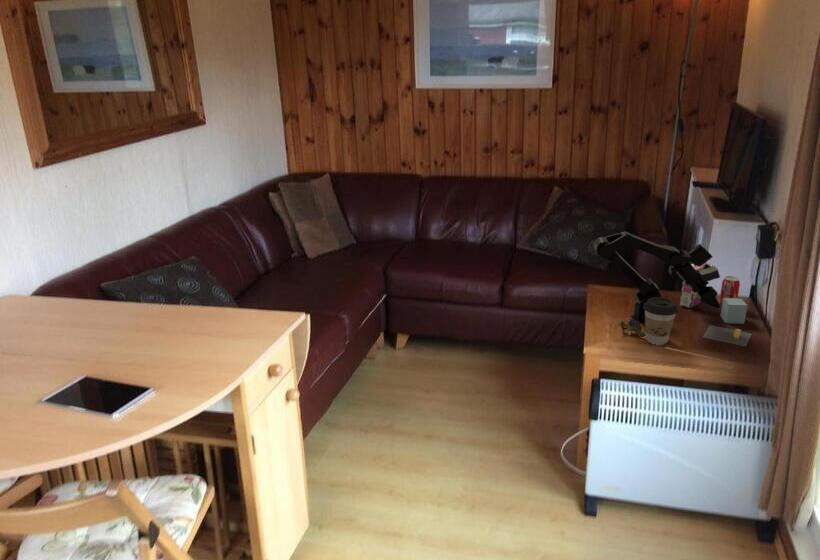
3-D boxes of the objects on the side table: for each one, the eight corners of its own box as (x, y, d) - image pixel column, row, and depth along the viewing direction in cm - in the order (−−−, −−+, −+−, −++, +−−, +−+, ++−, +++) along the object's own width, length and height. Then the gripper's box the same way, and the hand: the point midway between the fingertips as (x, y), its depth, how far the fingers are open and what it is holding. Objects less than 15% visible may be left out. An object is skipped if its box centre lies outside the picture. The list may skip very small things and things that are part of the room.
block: (725, 324, 240) (729, 304, 238) (720, 317, 246) (723, 298, 243) (743, 325, 240) (747, 305, 237) (737, 317, 246) (741, 298, 243)
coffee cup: (642, 347, 225) (646, 307, 219) (637, 333, 235) (641, 295, 230) (676, 349, 223) (682, 309, 218) (670, 334, 233) (675, 296, 228)
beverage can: (737, 310, 252) (742, 281, 248) (720, 309, 253) (725, 280, 249) (733, 304, 258) (738, 276, 254) (716, 303, 259) (721, 275, 255)
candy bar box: (691, 309, 254) (696, 270, 248) (679, 305, 258) (684, 267, 252) (704, 301, 261) (709, 263, 255) (692, 298, 265) (697, 260, 259)
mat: (702, 338, 230) (703, 331, 229) (709, 326, 239) (710, 319, 238) (745, 348, 222) (747, 340, 221) (751, 335, 231) (752, 327, 230)
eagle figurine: (615, 333, 233) (639, 335, 227) (618, 314, 235) (642, 316, 229) (623, 338, 239) (647, 340, 233) (626, 319, 240) (650, 321, 234)
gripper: (715, 268, 227) (743, 299, 230) (699, 252, 244) (725, 280, 247) (689, 288, 231) (716, 318, 234) (675, 271, 248) (701, 298, 251)
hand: (715, 303), depth 241 cm, fingers open, 9 cm apart
